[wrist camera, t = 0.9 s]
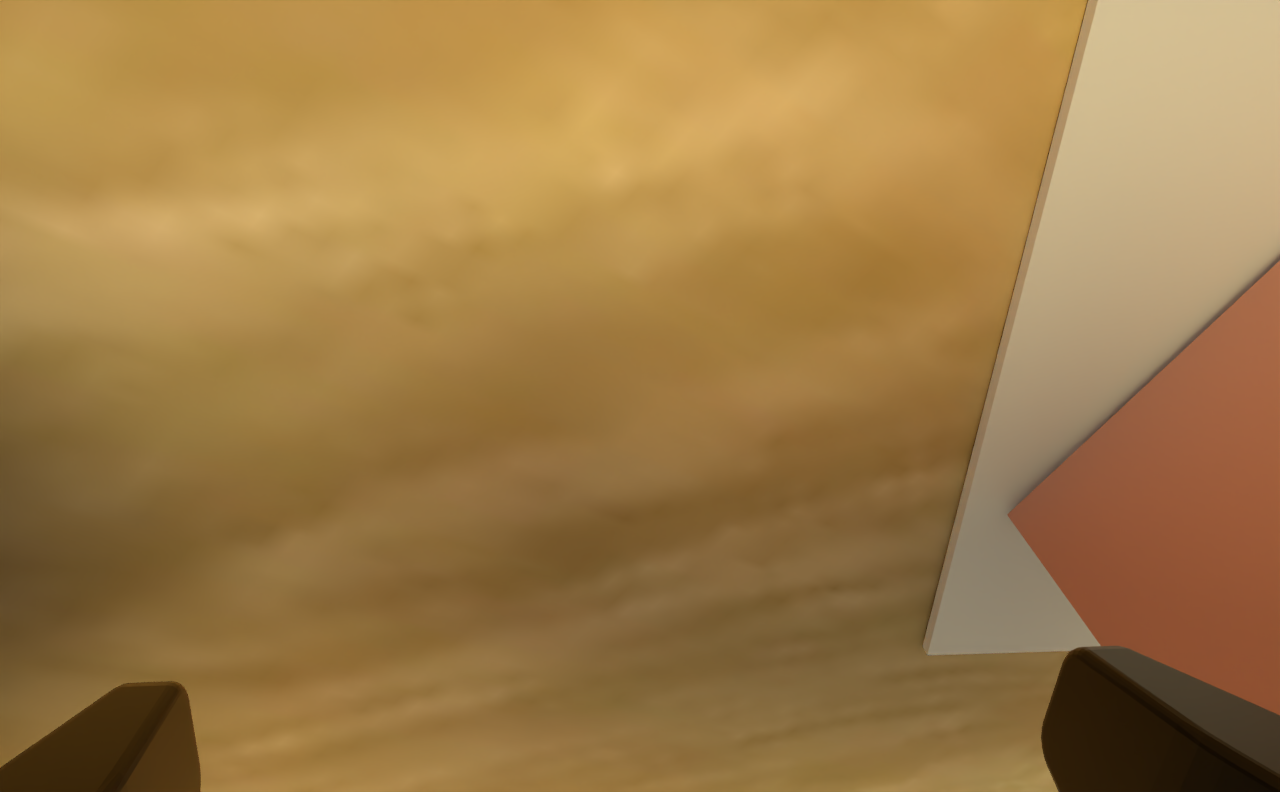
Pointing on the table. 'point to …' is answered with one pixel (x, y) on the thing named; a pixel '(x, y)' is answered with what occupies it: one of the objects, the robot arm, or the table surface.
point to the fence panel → (1181, 510)
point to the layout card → (1114, 278)
